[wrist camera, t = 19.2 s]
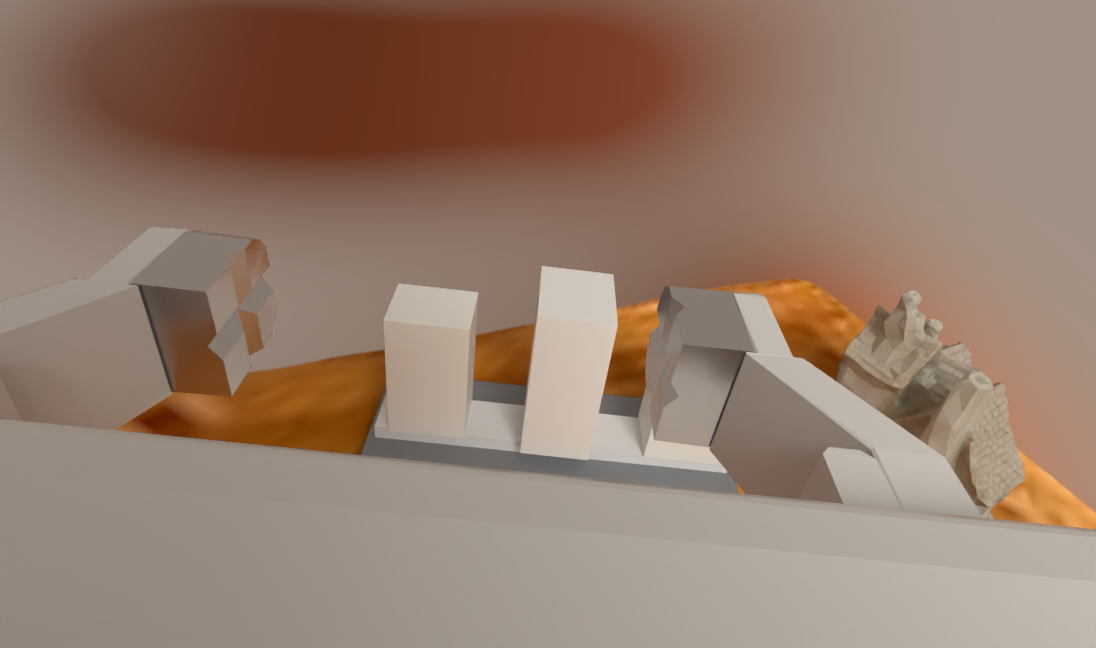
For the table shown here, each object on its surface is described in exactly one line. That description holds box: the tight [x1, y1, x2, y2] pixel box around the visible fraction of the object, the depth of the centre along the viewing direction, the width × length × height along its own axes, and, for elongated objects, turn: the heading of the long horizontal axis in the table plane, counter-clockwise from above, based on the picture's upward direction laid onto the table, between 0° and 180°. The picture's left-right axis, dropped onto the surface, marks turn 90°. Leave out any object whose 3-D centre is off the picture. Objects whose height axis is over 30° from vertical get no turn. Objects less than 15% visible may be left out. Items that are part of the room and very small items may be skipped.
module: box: [520, 266, 618, 460], centre depth 40 cm, size 4×6×11 cm
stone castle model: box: [835, 290, 1024, 519], centre depth 44 cm, size 16×16×15 cm
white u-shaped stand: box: [361, 284, 739, 493], centre depth 42 cm, size 25×10×12 cm, turn 88°
